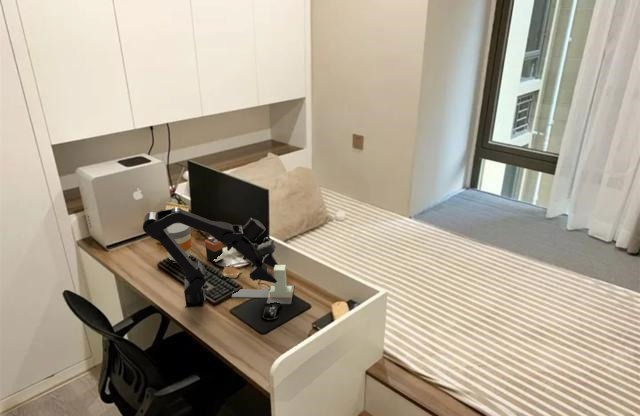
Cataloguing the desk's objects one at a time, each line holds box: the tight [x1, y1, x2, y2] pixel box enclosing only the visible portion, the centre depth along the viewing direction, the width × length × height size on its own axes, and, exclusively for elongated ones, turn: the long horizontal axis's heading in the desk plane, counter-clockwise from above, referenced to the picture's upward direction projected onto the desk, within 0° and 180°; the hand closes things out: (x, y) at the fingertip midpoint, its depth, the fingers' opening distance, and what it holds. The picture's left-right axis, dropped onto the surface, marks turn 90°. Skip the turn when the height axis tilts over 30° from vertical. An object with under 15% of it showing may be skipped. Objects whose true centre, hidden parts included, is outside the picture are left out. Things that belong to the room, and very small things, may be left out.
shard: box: [221, 265, 242, 279], centre depth 187 cm, size 11×8×2 cm
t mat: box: [231, 284, 295, 305], centre depth 171 cm, size 23×12×1 cm, turn 87°
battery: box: [204, 236, 224, 262], centre depth 195 cm, size 4×7×10 cm, turn 49°
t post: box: [269, 264, 292, 297], centre depth 169 cm, size 8×4×12 cm, turn 88°
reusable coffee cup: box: [164, 222, 192, 261], centre depth 195 cm, size 13×13×15 cm
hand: (277, 275), depth 168 cm, fingers open, 9 cm apart
